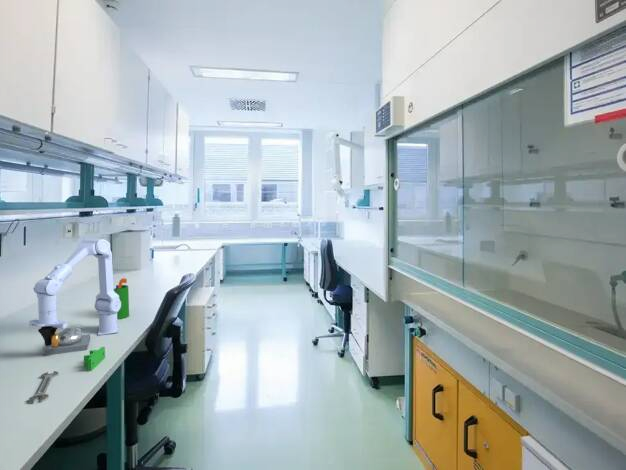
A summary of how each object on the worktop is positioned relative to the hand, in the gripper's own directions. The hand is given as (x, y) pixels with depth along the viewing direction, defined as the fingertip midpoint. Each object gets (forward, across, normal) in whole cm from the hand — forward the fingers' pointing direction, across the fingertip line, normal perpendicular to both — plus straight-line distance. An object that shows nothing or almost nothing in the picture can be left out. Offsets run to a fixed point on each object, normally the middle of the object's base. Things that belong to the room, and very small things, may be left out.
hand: (48, 345), depth 135 cm
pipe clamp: (+4, +22, -4) cm, 23 cm away
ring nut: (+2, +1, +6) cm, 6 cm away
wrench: (+4, +19, -22) cm, 29 cm away
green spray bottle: (+4, -6, +48) cm, 49 cm away
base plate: (+4, +1, +8) cm, 9 cm away
